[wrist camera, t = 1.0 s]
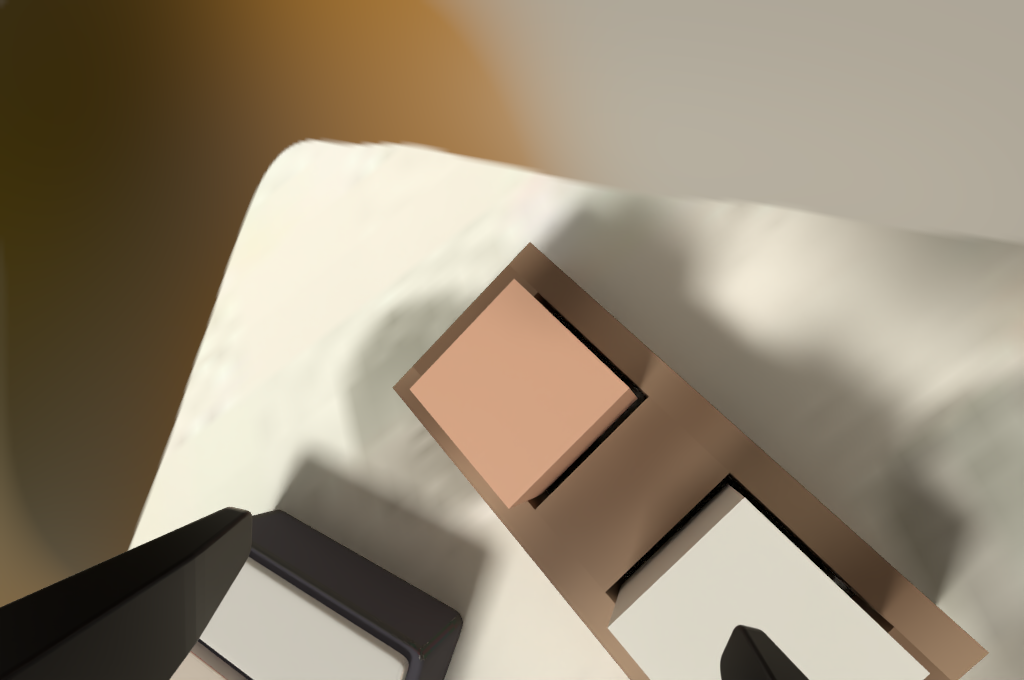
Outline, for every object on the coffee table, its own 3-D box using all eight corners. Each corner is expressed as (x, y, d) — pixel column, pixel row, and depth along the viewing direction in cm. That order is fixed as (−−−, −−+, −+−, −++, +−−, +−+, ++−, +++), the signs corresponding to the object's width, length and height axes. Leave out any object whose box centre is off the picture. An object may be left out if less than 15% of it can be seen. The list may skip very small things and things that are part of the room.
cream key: (863, 612, 15) (930, 673, 11) (741, 722, 15) (765, 818, 11) (727, 483, 16) (744, 496, 13) (621, 585, 17) (607, 628, 13)
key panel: (931, 614, 16) (988, 652, 13) (749, 775, 16) (766, 846, 13) (547, 267, 22) (529, 242, 19) (427, 393, 22) (392, 387, 20)
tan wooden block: (637, 398, 18) (629, 387, 14) (541, 494, 18) (508, 509, 14) (544, 309, 19) (514, 278, 16) (458, 398, 20) (409, 389, 16)
